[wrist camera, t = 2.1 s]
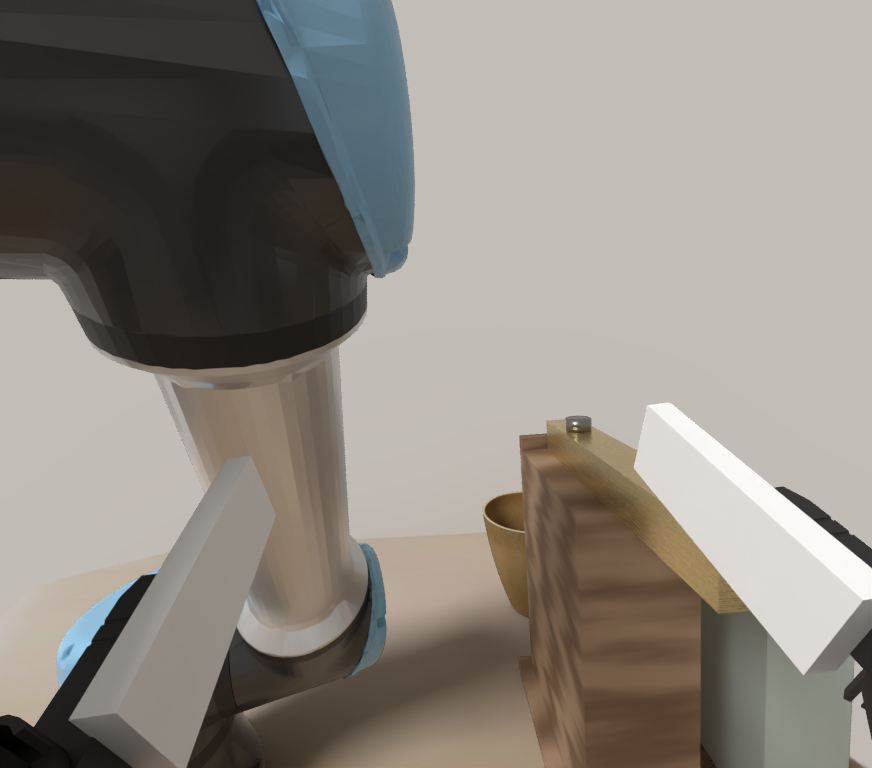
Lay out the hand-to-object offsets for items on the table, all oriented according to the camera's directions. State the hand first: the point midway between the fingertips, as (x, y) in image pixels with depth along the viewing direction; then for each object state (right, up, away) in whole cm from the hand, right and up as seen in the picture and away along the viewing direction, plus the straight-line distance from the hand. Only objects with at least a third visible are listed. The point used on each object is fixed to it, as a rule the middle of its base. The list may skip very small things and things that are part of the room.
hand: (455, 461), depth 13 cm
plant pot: (+16, -33, +49) cm, 61 cm away
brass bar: (+14, -6, +18) cm, 23 cm away
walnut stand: (+16, -35, +27) cm, 47 cm away
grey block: (+30, -35, +24) cm, 52 cm away
